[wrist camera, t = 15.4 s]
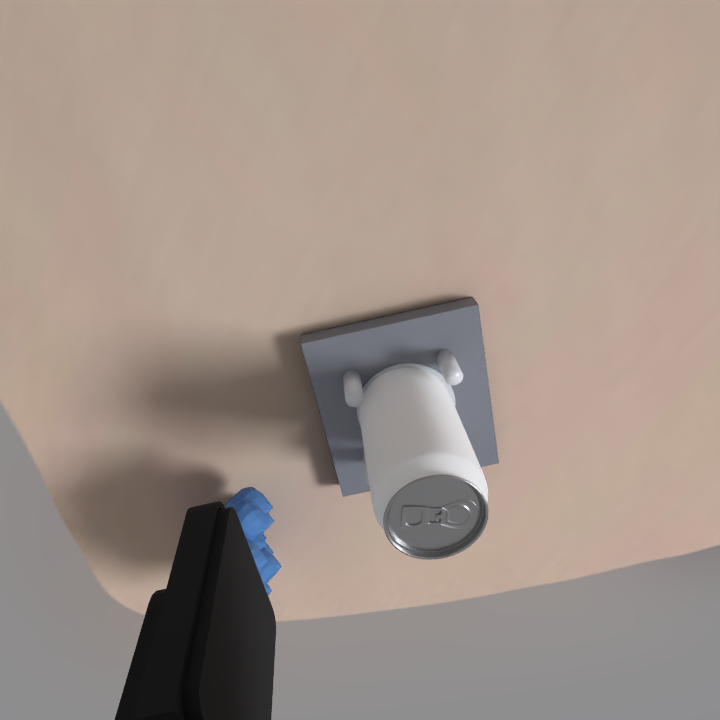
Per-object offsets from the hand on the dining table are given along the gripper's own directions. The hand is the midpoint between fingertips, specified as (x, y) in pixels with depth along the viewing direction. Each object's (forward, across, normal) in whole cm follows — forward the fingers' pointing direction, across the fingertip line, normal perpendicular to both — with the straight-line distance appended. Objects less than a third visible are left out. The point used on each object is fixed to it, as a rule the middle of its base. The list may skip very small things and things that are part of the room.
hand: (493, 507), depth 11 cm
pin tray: (+30, 0, +15) cm, 34 cm away
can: (+29, 0, +15) cm, 32 cm away
